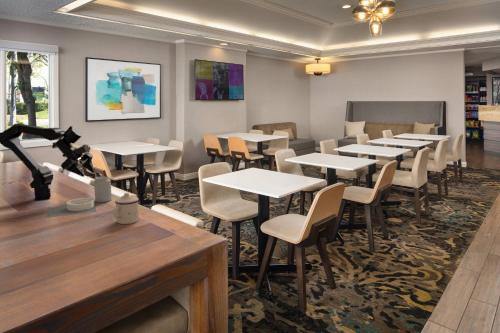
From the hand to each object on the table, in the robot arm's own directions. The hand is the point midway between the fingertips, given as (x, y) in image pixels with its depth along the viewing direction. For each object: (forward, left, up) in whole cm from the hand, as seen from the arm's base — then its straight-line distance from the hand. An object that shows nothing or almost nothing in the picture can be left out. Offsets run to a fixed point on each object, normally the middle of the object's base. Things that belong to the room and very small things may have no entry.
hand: (89, 174), depth 183 cm
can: (+5, -5, -13) cm, 15 cm away
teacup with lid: (+10, -42, -13) cm, 45 cm away
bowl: (-5, -13, -13) cm, 19 cm away
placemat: (-9, -15, -13) cm, 21 cm away
